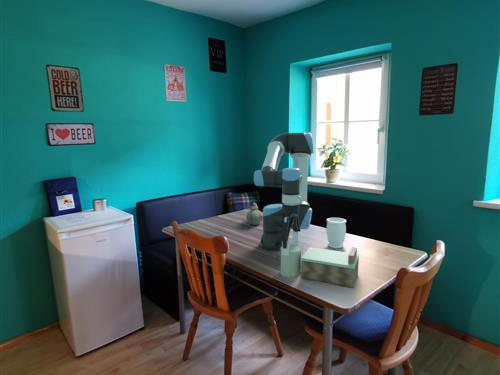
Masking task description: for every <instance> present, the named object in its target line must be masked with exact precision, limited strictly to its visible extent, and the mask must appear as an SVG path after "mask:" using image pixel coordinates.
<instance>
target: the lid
mask: <svg viewBox="0 0 500 375" xmlns="http://www.w3.org/2000/svg"><path fill="white" fill-rule="evenodd" d="M357 249H358V248H357V247H353V246H352V247H351V248H350V251H348V252H347V251H341V250H340V251H339V250H332V249H326V248H319V247H310V246H309V247H308V248H307V250H306V251H305V252H304V253H303V254H302V256H301V261H307V262H313V263H320V264H326V265H332V266H338V267H344V268H350V269H354V268H355V266H356V263H357V260H358V257H359V258H360V254H359V253H357V252H358V250H357Z"/></svg>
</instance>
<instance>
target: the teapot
mask: <svg viewBox="0 0 500 375" xmlns="http://www.w3.org/2000/svg"><path fill="white" fill-rule="evenodd" d="M262 215H263V211H261V210H259V206H258V205H257V202H253V203H252V205H251V206H250V209H249V211H248V212H247V214H246V220H247V222H248V223H249V224H250V225H253V226H258V225H259V224H260V223H261V222H263V216H262Z"/></svg>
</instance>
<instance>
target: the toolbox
mask: <svg viewBox="0 0 500 375" xmlns="http://www.w3.org/2000/svg"><path fill="white" fill-rule="evenodd" d="M359 259H360V256H359V257H358V260H357V263H356V266H355V268H354V269H350V268H344V267H338V266H332V265H326V264H320V263H313V262H307V261H301V274H300V279H302V280H307V281H312V282H319V283H324V284H329V285H333V286H339V287H343V288H350V289H354V288H355V284H356V282H357V278H358V276H359V264H360V263H359V262H360V261H359Z"/></svg>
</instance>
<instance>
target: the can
mask: <svg viewBox="0 0 500 375" xmlns="http://www.w3.org/2000/svg"><path fill="white" fill-rule="evenodd" d="M301 253H302V248H301V247H300V246H299V245H298V246H296V245H292V244H289V255H288V256H286V255H282V247H281V249H280V274H281V275H282V276H284V277H289V278H294V277H299V276H301V257H302V256H301Z"/></svg>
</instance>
